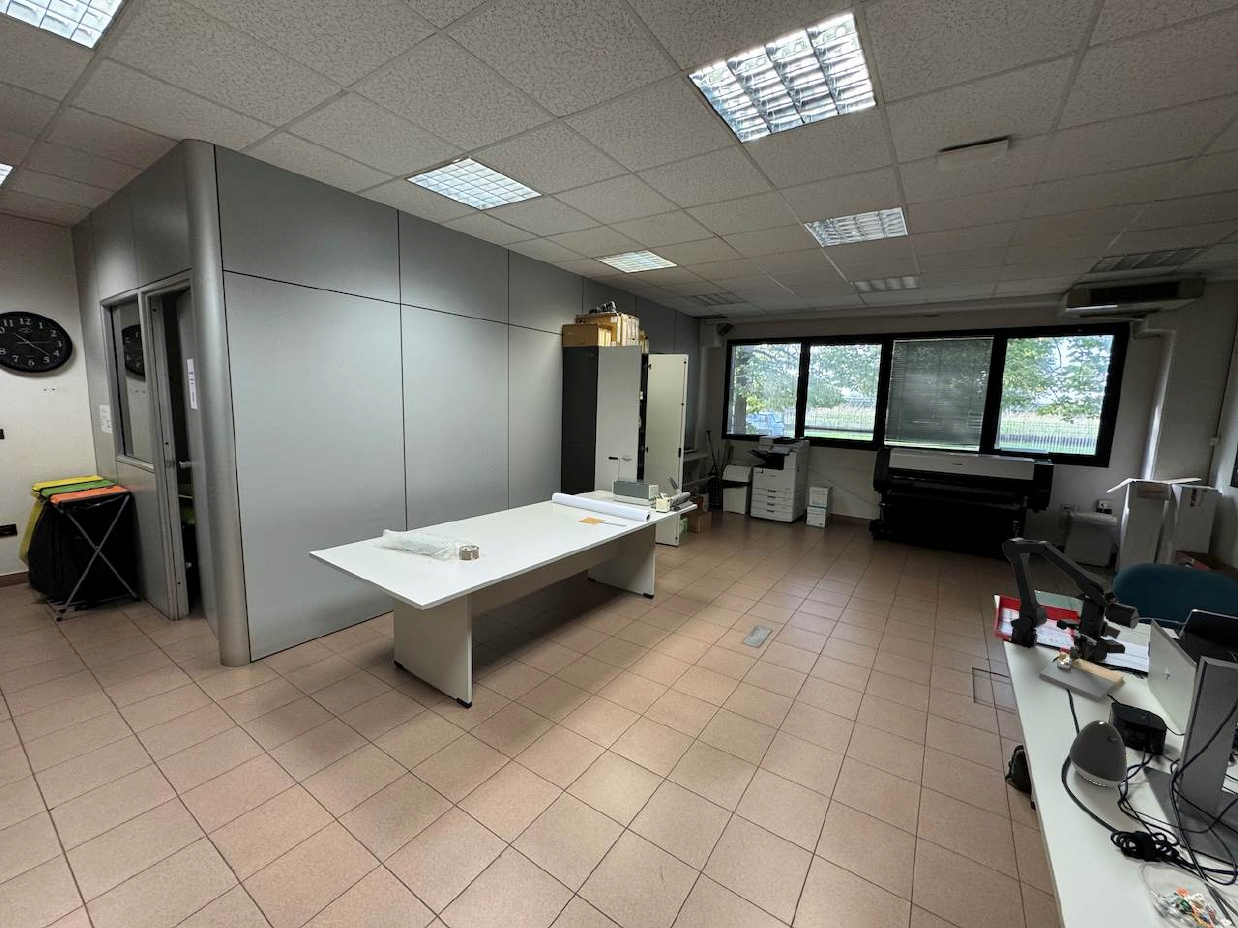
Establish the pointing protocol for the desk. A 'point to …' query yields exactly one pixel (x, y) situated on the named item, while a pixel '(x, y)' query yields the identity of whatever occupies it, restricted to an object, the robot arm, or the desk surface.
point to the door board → (1083, 678)
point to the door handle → (1070, 658)
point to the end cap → (1095, 655)
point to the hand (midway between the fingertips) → (1085, 659)
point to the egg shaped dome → (1099, 754)
